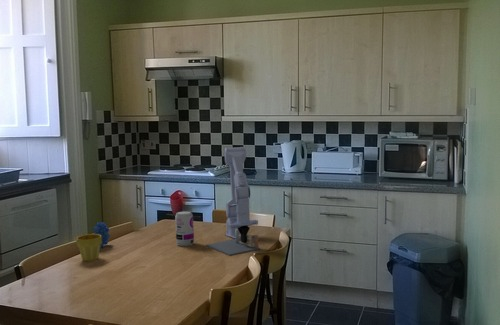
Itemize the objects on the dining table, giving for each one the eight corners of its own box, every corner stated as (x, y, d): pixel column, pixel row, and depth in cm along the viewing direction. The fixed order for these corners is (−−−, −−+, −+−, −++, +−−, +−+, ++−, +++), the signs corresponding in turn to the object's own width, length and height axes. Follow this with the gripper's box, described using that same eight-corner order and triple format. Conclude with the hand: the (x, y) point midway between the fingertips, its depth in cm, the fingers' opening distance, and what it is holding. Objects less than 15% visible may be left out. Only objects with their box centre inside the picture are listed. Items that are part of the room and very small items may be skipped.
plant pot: (95, 262, 218) (94, 239, 217) (73, 262, 220) (71, 239, 219) (107, 255, 228) (105, 233, 227) (85, 255, 230) (84, 233, 229)
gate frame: (205, 245, 239) (205, 230, 239) (235, 240, 248) (234, 225, 247) (229, 255, 222) (228, 239, 221) (260, 249, 231) (259, 233, 230)
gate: (238, 242, 239) (238, 233, 239) (240, 242, 240) (240, 233, 239) (252, 247, 230) (252, 237, 230) (255, 247, 231) (254, 237, 230)
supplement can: (195, 241, 247) (194, 210, 246) (192, 246, 239) (190, 214, 238) (178, 242, 248) (177, 211, 246) (174, 246, 240) (173, 214, 238)
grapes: (102, 250, 237) (100, 224, 236) (89, 249, 239) (88, 224, 238) (117, 244, 248) (115, 219, 247) (105, 243, 250) (103, 218, 249)
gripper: (234, 216, 226) (234, 246, 227) (261, 211, 233) (262, 241, 235) (225, 213, 231) (226, 243, 233) (252, 209, 239) (253, 238, 241)
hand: (243, 242), depth 234 cm, fingers closed, pressing on gate
